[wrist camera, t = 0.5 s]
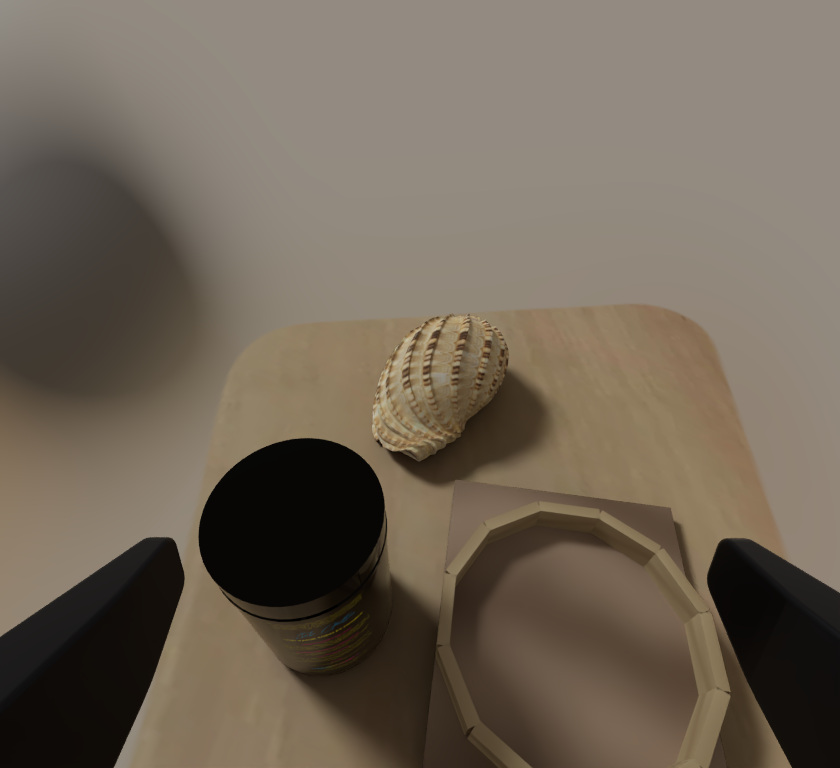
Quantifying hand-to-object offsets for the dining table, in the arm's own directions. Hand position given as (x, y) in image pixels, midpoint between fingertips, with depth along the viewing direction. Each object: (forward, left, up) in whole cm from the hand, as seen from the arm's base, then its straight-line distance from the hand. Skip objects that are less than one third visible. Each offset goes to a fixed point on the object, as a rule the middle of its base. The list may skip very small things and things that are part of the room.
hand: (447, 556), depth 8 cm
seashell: (+16, +2, -16) cm, 23 cm away
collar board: (+3, -5, -15) cm, 17 cm away
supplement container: (+3, +5, -16) cm, 17 cm away
